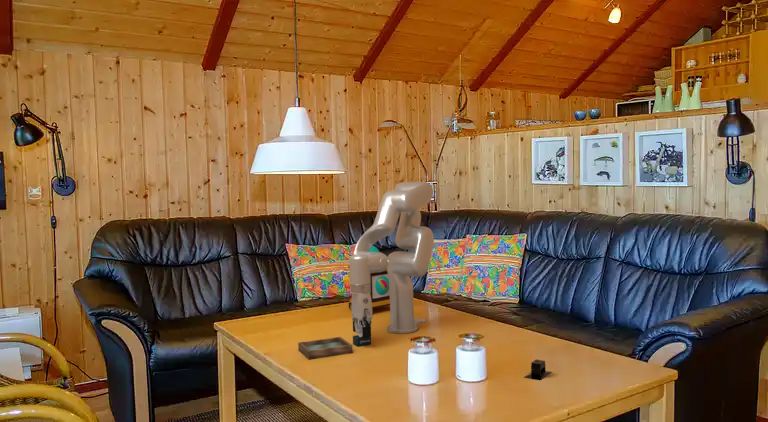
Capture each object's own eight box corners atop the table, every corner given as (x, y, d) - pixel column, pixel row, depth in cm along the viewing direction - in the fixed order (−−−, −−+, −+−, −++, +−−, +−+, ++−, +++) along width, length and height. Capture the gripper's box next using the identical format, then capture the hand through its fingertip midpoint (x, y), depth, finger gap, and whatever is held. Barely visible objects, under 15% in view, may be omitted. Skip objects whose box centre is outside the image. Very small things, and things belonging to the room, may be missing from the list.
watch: (360, 348, 217) (359, 318, 216) (350, 343, 224) (349, 314, 223) (374, 345, 219) (373, 316, 219) (364, 340, 226) (363, 312, 226)
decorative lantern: (377, 303, 296) (375, 242, 294) (404, 309, 280) (402, 245, 279) (344, 309, 283) (342, 246, 281) (370, 316, 268) (368, 249, 266)
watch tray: (340, 344, 223) (340, 336, 223) (352, 352, 211) (352, 345, 211) (298, 350, 217) (298, 342, 216) (308, 359, 205) (308, 351, 205)
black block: (535, 368, 189) (535, 354, 189) (558, 372, 185) (557, 358, 184) (518, 380, 179) (518, 365, 179) (542, 384, 175) (542, 369, 174)
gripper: (379, 290, 214) (380, 338, 215) (361, 283, 230) (362, 328, 231) (359, 293, 211) (361, 341, 212) (343, 285, 227) (344, 330, 228)
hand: (362, 334), depth 221 cm, fingers open, 9 cm apart
